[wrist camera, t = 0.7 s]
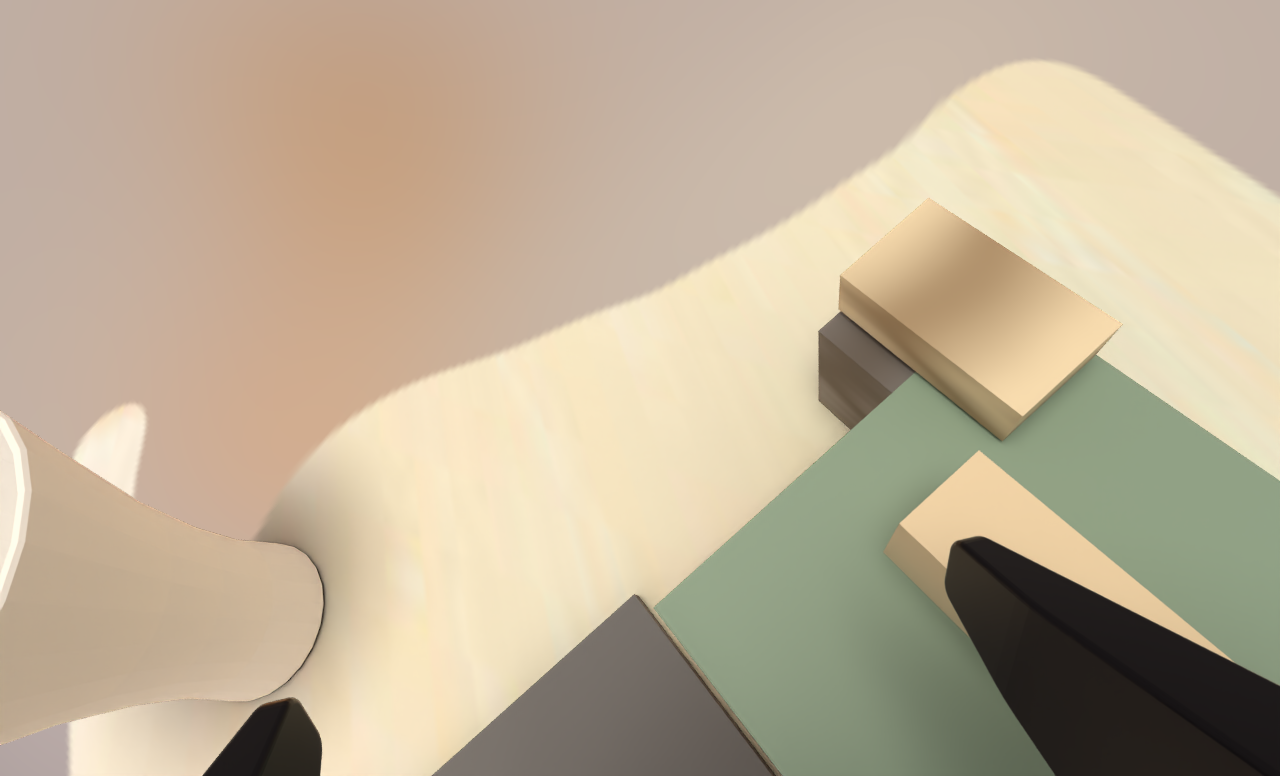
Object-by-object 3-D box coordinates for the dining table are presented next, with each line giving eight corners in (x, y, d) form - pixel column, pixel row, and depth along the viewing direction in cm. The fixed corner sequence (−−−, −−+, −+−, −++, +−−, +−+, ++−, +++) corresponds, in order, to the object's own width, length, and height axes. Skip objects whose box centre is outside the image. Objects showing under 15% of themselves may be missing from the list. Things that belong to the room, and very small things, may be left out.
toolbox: (1306, 616, 20) (1490, 598, 14) (960, 960, 19) (1017, 1081, 13) (912, 316, 26) (936, 226, 21) (642, 558, 25) (593, 529, 20)
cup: (391, 684, 26) (23, 700, 14) (168, 802, 26) (-377, 917, 14) (338, 461, 31) (29, 330, 19) (150, 565, 31) (-273, 502, 19)
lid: (1430, 619, 15) (1698, 600, 11) (1004, 1052, 14) (1092, 1238, 10) (994, 311, 21) (1045, 208, 16) (662, 610, 20) (613, 594, 15)
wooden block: (1092, 357, 18) (1122, 324, 16) (1002, 441, 18) (1023, 416, 16) (919, 237, 21) (928, 197, 19) (838, 308, 20) (840, 274, 19)
